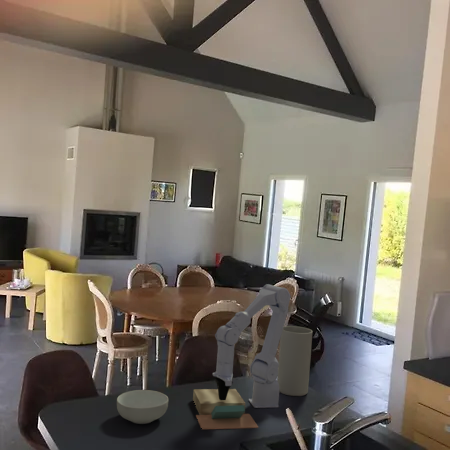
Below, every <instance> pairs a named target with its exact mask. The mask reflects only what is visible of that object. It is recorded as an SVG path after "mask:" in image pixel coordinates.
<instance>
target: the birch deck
mask: <svg viewBox="0 0 450 450" xmlns="http://www.w3.org/2000/svg"><path fill="white" fill-rule="evenodd" d="M192 393H193V395H192V396H193V397H192V402H193V401H194V402H193V403H195V404H194V405H196V406H195V409H196V410H197V412H198V415H212V414H211V413H212V411H213V409H214V408H215V406H236V405H244V408H245V409H246V402H245V400H244V398H242V396H241V395H240V393H239V392H238V390H237V389H236V388H230V389H229V391H228V394H227V397H226V400H220V399H219V395H218V388H216V389H215V388H214V389H213V388H211V389H210V388H209V389H207V388H203V389H201V388H199V389H193V392H192ZM243 414H246V411H245V412H244V413H243Z"/></svg>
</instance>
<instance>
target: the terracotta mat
mask: <svg viewBox="0 0 450 450" xmlns="http://www.w3.org/2000/svg"><path fill="white" fill-rule="evenodd" d="M195 417H196V419H198V420H197V421H198V425H199V427H200V429H201V428H202V429H201V430H227V429H228V430H229V429H230V430H231V429H232V430H233V429H258V428H259V426H258V424H257V423H256V422H255V419H254V418H253V417H252V416H251V414H250V413H245V414H243V415H242V416H241V418H221V419H212V415H200V414H196V415H195Z"/></svg>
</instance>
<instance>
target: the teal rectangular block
mask: <svg viewBox="0 0 450 450" xmlns="http://www.w3.org/2000/svg"><path fill="white" fill-rule="evenodd" d="M244 412H245V413H246V407H245V408H244V405H236V406H215V408H214V409H213V411H212V413H211V414H212V419H221V418H241V416H242V415H243V413H244Z"/></svg>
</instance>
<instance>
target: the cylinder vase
mask: <svg viewBox="0 0 450 450" xmlns="http://www.w3.org/2000/svg"><path fill="white" fill-rule="evenodd" d="M312 341H313V330H312V329H310V328H307V327H303V326H297V325H295V326H293V325H287V326H285V325H284V327H283V331H282V334H281V338H280V341H279V351H278V353H279V355H278V363H279V366H278V376H277V378H276V380H277V381H278V383H279V394H280V393H281V394H283V395H286V396H291V397H302V396H305V395H307V394H308V392H309V383H310V382H309V381H310V372H311V371H310V367H311V357H312V356H311V355H312Z"/></svg>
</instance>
